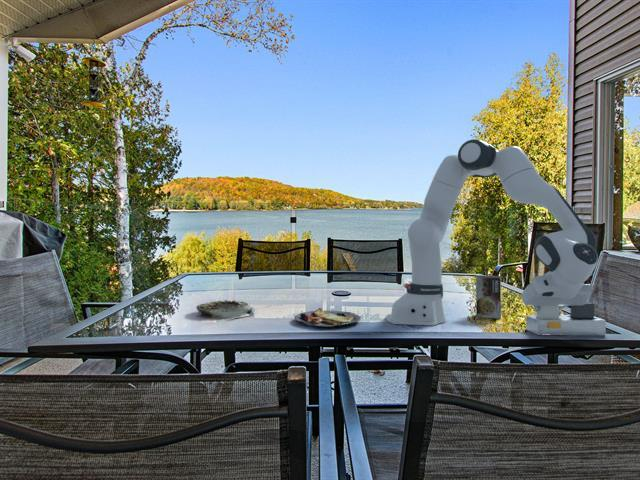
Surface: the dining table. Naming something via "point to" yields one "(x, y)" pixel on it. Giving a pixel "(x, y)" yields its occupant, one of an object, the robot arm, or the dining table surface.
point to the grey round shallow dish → (224, 309)
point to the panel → (548, 312)
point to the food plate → (327, 318)
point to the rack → (569, 323)
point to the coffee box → (488, 296)
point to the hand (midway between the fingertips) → (546, 309)
